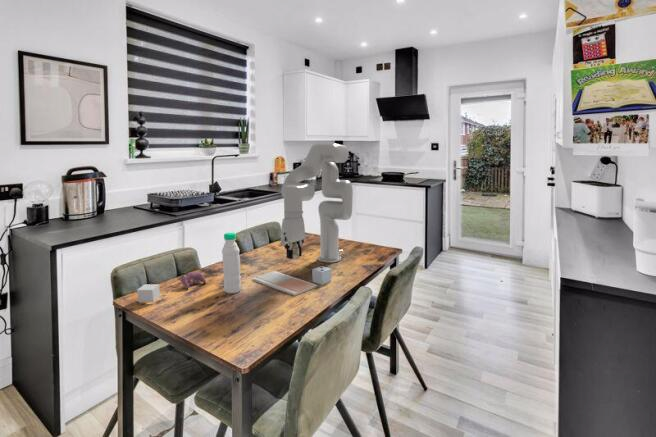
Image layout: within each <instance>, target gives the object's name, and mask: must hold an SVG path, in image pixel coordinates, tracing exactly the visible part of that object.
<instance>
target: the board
mask: <svg viewBox="0 0 656 437" xmlns="http://www.w3.org/2000/svg"><path fill="white" fill-rule="evenodd" d="M252 281H254V282H257V283H259V284H263V285H264V286H267V287H270V288H273V289H276V290H278V291H281V292H284V293H286V294H289V295H290V296H294V297H296V296H298V295H300V294H304V293H305V292H308V291H311V290H313V289H316V288H317V287H318V286H317V283H314V282H313V283H312V282H309V281H306V280H303V279H300V278H298V277H294V276H290V275H288V274H284V273H281V272H280V271H277V270H276V271H275V270H273V271H270V272H266V273H263V274H261V275H257V276H255V277H253V278H252Z"/></svg>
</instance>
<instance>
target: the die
mask: <svg viewBox="0 0 656 437" xmlns="http://www.w3.org/2000/svg"><path fill="white" fill-rule="evenodd" d="M311 272H312V274H311V275H312V276H311V277H312V282H313V283H314V284H318V285H321V286H324V285H326V284H328V283H331V282H332V268H330V267H325V266H323V265H320V266H318V267H315V268H312V271H311Z"/></svg>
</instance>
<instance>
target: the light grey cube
mask: <svg viewBox="0 0 656 437" xmlns="http://www.w3.org/2000/svg"><path fill="white" fill-rule="evenodd" d="M136 290H137V291H136V294H137V302H154V301H155V300H156V299H157V298H158V297H160V298H161V292H160V291H161V289H160V284H157V283H156V284H153V283H152V284H150V283H149V284H145V283H144V284H142V285H141V286H140V287H139V288H138V289H136Z"/></svg>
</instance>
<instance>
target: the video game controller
mask: <svg viewBox="0 0 656 437" xmlns="http://www.w3.org/2000/svg"><path fill="white" fill-rule="evenodd" d="M180 282H181V284H182V285H183V287H184V288H185V289H186V288H189V289H190V286H189V285H191V284H192V285H193V284H194V283H198V282H201V283H202V282H203V283H206V284H207V280H206V278H205V276H204V275H203V274H202V273H201V272H200V271H191V272H188V273H186V274H184V275H183V276H182V277H181V278H180ZM203 283H202V284H203ZM198 284H199V283H198ZM192 285H191V286H192Z"/></svg>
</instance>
